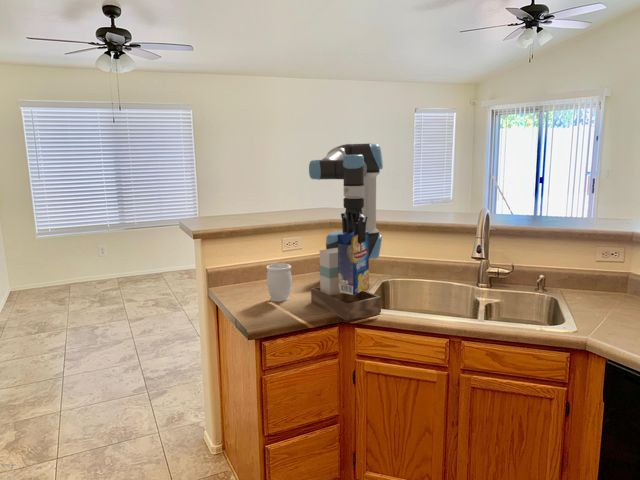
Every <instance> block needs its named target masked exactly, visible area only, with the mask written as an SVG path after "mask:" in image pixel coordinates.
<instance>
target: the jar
mask: <svg viewBox="0 0 640 480" xmlns="http://www.w3.org/2000/svg"><path fill="white" fill-rule="evenodd" d="M291 269H292V265H290V264H288V263H282V262H281V263H280V262H279V263H271V264H268V265H266V270H267V273H266V284H267V290H268V294H269V296H270V297H269V298H270V302H271V303H273V304H275V302H285V301H287V300H289V299H290V297H289V296H290V295H291V290H292V289H291V287H292V283H293V281H292V280H293V279H292V277H293V276H292V272H291Z"/></svg>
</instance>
